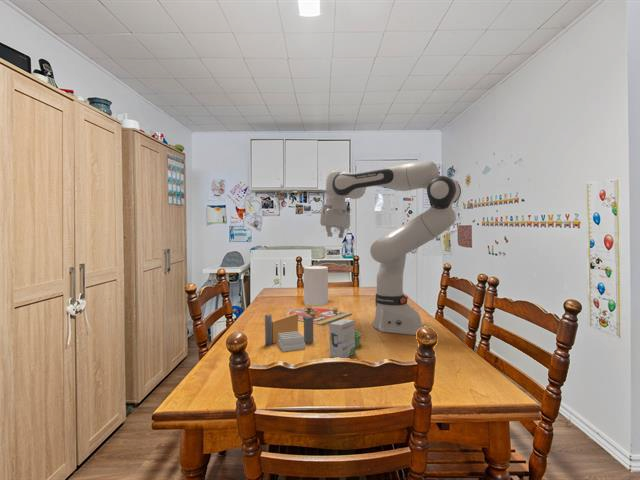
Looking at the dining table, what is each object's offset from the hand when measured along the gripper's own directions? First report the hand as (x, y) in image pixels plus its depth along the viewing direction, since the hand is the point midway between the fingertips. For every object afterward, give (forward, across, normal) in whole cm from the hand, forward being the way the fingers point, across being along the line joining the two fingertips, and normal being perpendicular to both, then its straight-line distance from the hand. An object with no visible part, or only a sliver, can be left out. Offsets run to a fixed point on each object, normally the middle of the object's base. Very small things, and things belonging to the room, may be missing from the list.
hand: (335, 237), depth 169 cm
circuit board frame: (+42, -34, -1) cm, 54 cm away
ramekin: (+42, -21, -19) cm, 51 cm away
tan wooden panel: (+40, -31, +3) cm, 51 cm away
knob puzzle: (+38, +6, +17) cm, 42 cm away
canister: (+34, +30, +31) cm, 55 cm away
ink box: (+43, -32, -23) cm, 59 cm away
